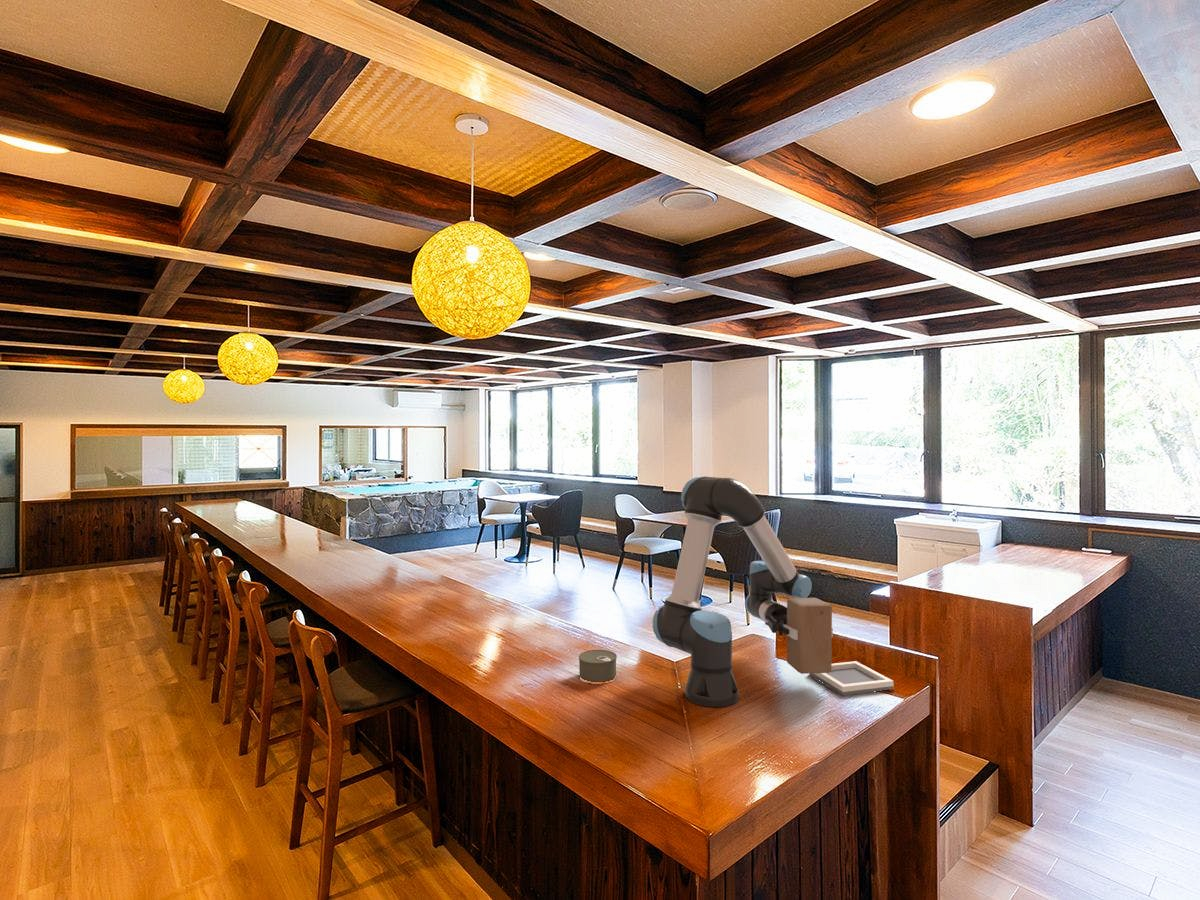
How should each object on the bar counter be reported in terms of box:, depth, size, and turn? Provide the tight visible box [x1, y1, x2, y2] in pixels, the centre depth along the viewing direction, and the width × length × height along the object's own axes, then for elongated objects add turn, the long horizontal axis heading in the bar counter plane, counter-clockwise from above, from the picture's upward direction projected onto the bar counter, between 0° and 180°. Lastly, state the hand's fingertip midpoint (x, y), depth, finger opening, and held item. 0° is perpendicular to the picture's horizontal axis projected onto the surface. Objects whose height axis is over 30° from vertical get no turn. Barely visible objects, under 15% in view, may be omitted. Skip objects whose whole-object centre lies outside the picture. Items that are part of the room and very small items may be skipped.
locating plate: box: [809, 660, 895, 697], centre depth 181 cm, size 17×17×3 cm
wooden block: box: [786, 597, 833, 675], centre depth 177 cm, size 10×10×20 cm
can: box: [578, 649, 617, 682], centre depth 187 cm, size 12×12×7 cm
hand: (814, 634), depth 174 cm, fingers closed on wooden block, 11 cm apart
